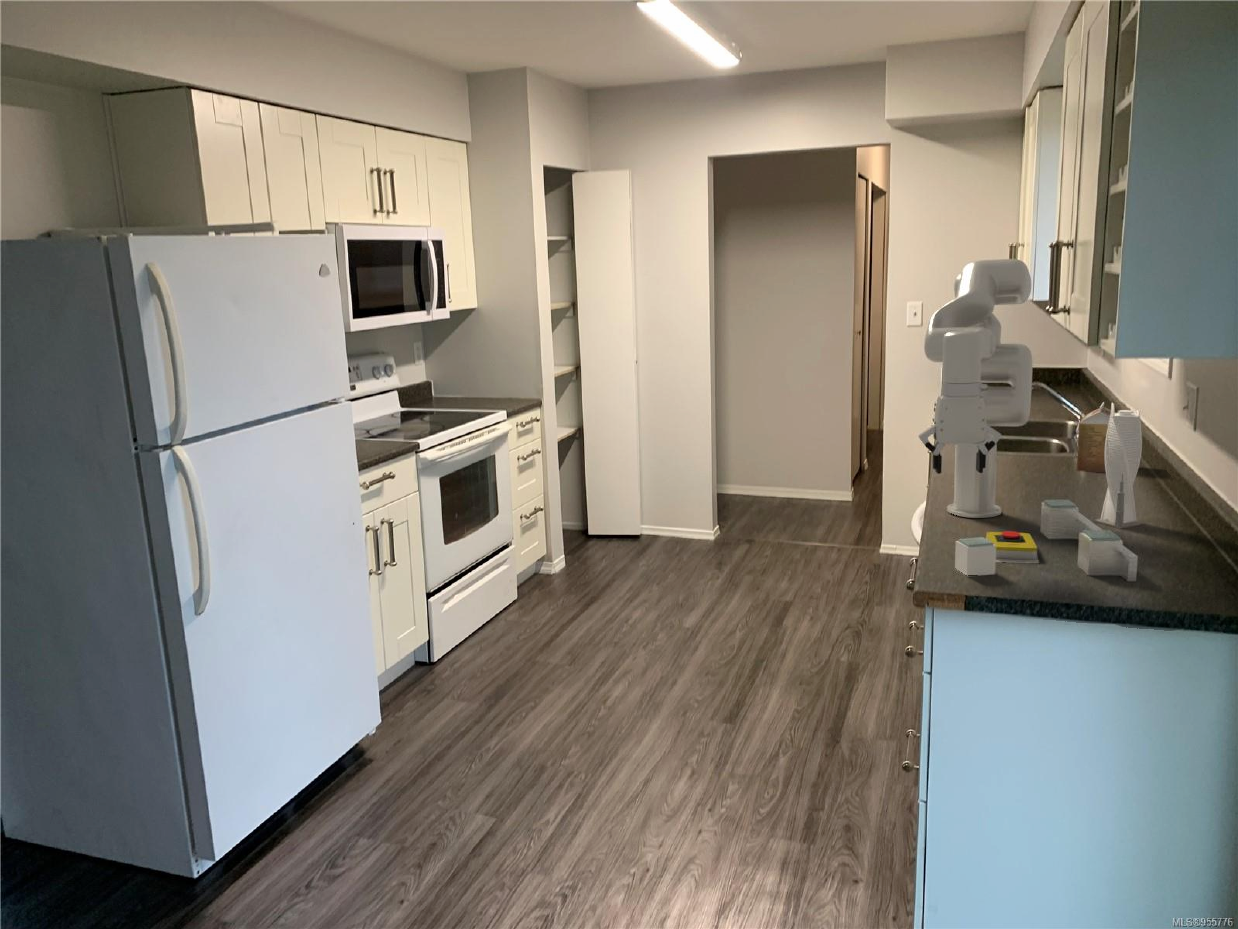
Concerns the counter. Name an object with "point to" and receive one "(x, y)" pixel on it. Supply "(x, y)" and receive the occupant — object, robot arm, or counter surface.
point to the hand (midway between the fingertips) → (958, 471)
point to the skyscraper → (1121, 468)
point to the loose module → (975, 556)
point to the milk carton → (1093, 440)
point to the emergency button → (1013, 547)
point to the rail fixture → (1088, 540)
